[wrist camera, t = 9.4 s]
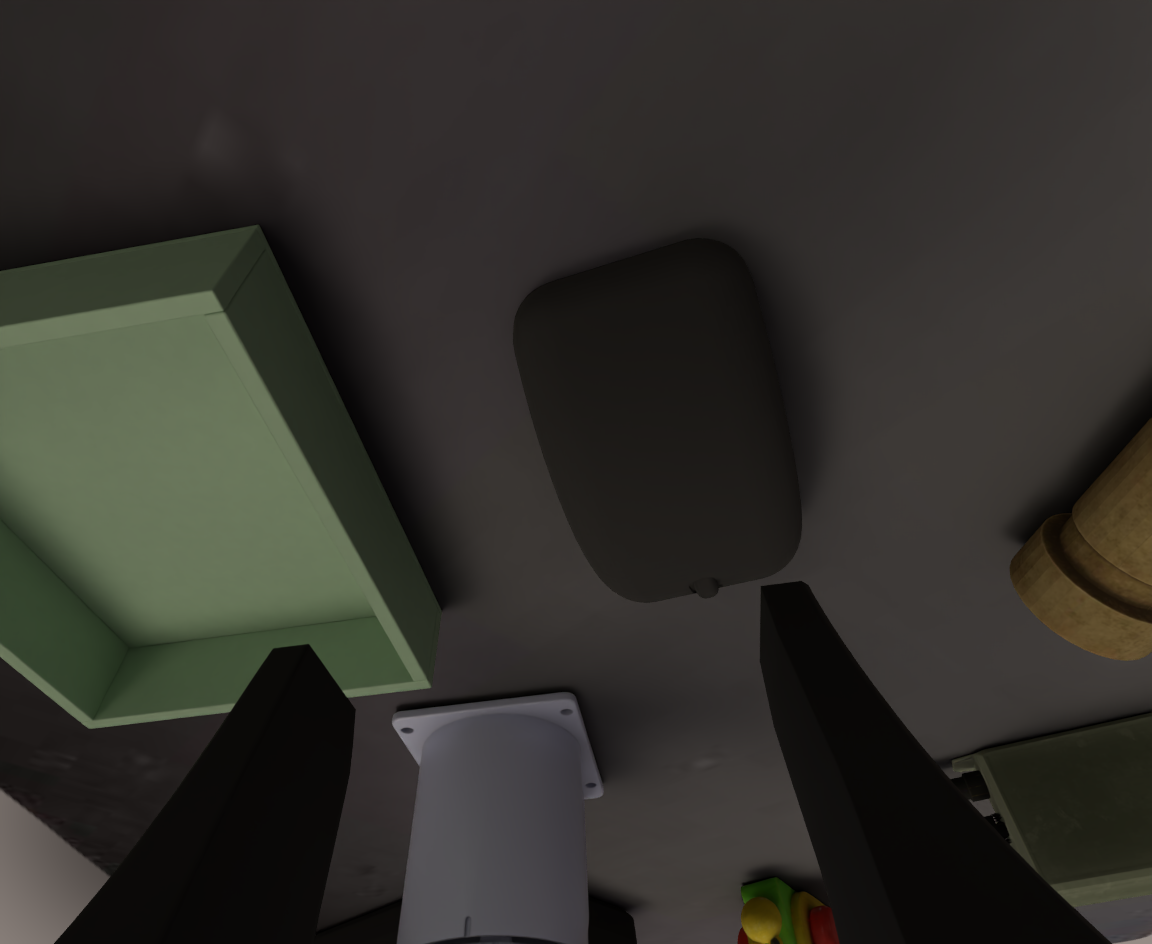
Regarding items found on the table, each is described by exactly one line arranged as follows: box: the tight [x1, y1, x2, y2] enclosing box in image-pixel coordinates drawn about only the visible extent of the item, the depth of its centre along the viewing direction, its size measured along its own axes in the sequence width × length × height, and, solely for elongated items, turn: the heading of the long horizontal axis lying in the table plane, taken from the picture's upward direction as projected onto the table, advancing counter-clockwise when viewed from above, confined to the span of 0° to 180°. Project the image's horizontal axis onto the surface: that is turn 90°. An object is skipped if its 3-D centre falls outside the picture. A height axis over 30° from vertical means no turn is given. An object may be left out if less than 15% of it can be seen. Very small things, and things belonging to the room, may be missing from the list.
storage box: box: [0, 225, 442, 729], centre depth 21 cm, size 15×12×3 cm
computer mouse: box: [513, 239, 802, 603], centre depth 20 cm, size 6×11×4 cm, turn 18°
